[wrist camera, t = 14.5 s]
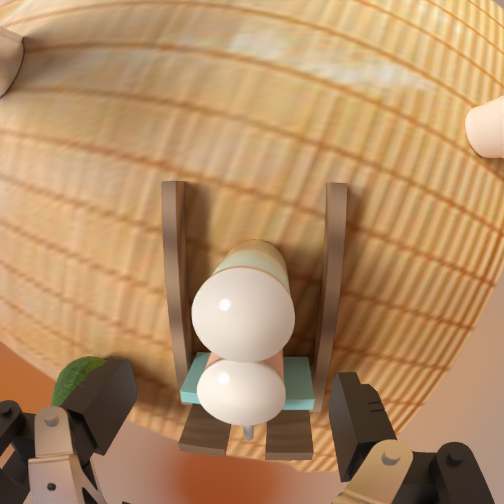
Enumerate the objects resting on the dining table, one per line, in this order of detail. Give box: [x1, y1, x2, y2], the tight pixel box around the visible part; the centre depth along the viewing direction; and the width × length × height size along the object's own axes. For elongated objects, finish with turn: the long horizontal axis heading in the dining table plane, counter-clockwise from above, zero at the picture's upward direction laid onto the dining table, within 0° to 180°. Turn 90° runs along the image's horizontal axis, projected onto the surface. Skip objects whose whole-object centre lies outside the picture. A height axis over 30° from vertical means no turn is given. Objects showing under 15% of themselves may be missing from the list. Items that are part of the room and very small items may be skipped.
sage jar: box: [192, 240, 295, 363], centre depth 21 cm, size 6×6×10 cm
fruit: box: [51, 356, 106, 407], centre depth 24 cm, size 8×8×12 cm
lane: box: [162, 181, 347, 460], centre depth 22 cm, size 23×14×8 cm, turn 179°
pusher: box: [180, 352, 315, 440], centre depth 25 cm, size 8×11×6 cm
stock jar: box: [197, 348, 286, 426], centre depth 22 cm, size 6×6×10 cm
